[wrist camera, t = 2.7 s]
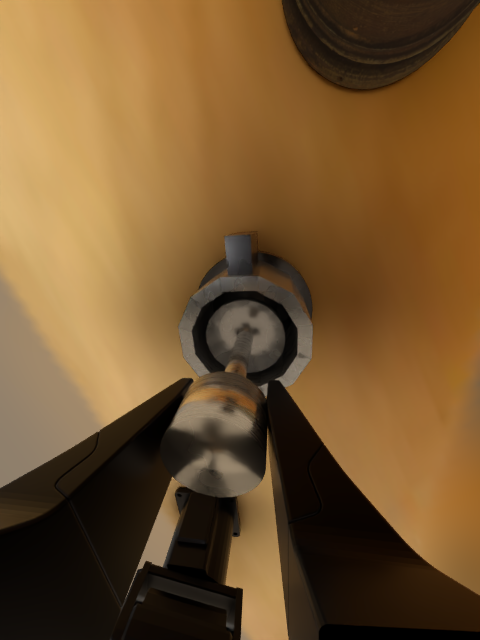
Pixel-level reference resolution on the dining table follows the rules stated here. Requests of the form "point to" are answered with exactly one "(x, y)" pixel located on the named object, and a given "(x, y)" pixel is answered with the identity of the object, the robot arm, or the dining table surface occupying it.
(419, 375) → the dining table surface
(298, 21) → the container
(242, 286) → the octagonal collar cylinder
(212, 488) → the plunger
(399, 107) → the dining table surface
